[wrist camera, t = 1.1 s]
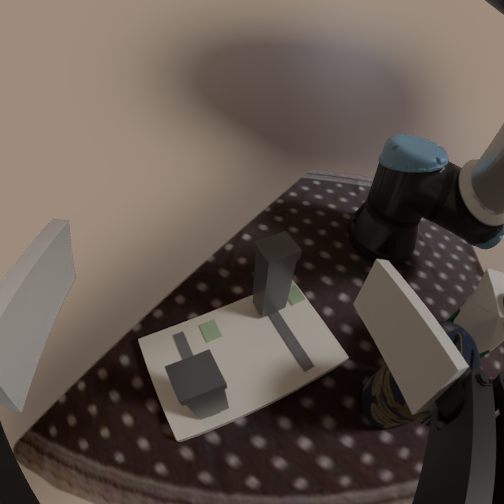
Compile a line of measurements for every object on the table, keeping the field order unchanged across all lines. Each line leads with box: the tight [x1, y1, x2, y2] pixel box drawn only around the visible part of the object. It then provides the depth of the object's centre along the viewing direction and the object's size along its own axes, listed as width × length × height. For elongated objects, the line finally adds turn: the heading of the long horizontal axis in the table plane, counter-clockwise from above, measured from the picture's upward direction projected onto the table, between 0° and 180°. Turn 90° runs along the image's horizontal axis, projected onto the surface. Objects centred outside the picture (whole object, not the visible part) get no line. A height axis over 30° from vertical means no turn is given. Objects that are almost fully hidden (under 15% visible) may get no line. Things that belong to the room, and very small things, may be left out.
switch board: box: [138, 279, 349, 442], centre depth 38 cm, size 26×16×2 cm, turn 117°
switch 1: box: [164, 349, 229, 420], centre depth 27 cm, size 4×4×13 cm
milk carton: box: [447, 268, 504, 359], centre depth 31 cm, size 9×9×20 cm
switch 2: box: [253, 231, 302, 318], centre depth 38 cm, size 4×4×13 cm
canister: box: [361, 321, 481, 429], centre depth 27 cm, size 10×10×18 cm
